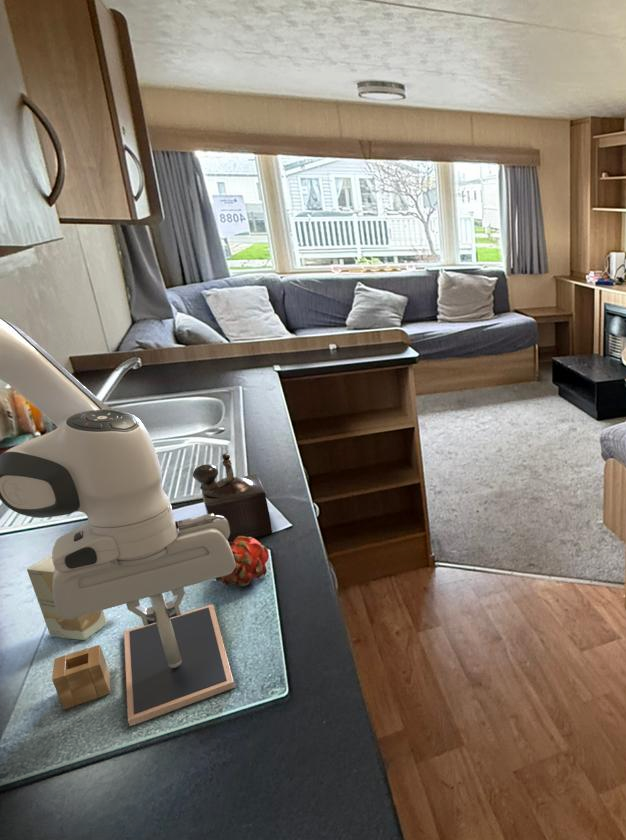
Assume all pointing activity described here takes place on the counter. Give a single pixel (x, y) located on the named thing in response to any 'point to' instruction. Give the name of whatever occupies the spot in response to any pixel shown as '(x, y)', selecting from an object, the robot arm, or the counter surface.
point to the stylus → (166, 630)
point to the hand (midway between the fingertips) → (162, 618)
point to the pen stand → (81, 676)
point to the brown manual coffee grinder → (235, 500)
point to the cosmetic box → (56, 624)
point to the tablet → (188, 683)
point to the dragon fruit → (246, 561)
